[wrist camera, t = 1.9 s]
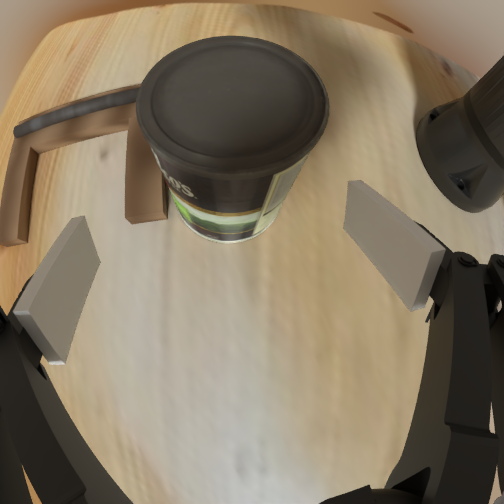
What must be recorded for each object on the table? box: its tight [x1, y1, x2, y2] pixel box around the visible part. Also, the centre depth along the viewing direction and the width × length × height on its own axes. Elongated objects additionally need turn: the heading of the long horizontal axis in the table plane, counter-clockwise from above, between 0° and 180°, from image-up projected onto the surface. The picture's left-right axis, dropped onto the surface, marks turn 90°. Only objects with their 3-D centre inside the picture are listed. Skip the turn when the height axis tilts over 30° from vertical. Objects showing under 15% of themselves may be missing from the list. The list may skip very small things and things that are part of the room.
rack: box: [0, 84, 167, 247], centre depth 25 cm, size 20×16×4 cm
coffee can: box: [136, 36, 329, 243], centre depth 20 cm, size 10×10×14 cm
